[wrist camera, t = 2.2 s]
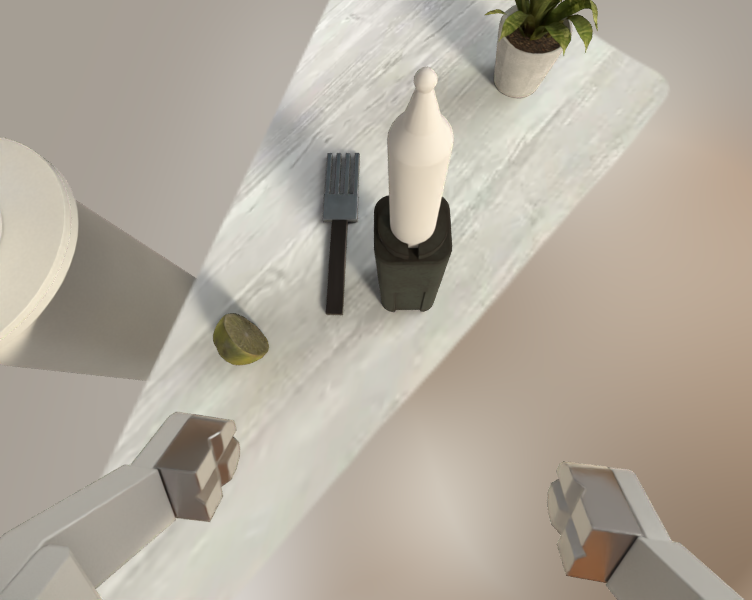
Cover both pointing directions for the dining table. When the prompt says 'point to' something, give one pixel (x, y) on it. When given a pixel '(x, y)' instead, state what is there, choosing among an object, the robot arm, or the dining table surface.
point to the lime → (239, 340)
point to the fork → (339, 226)
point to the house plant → (536, 41)
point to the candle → (415, 203)
